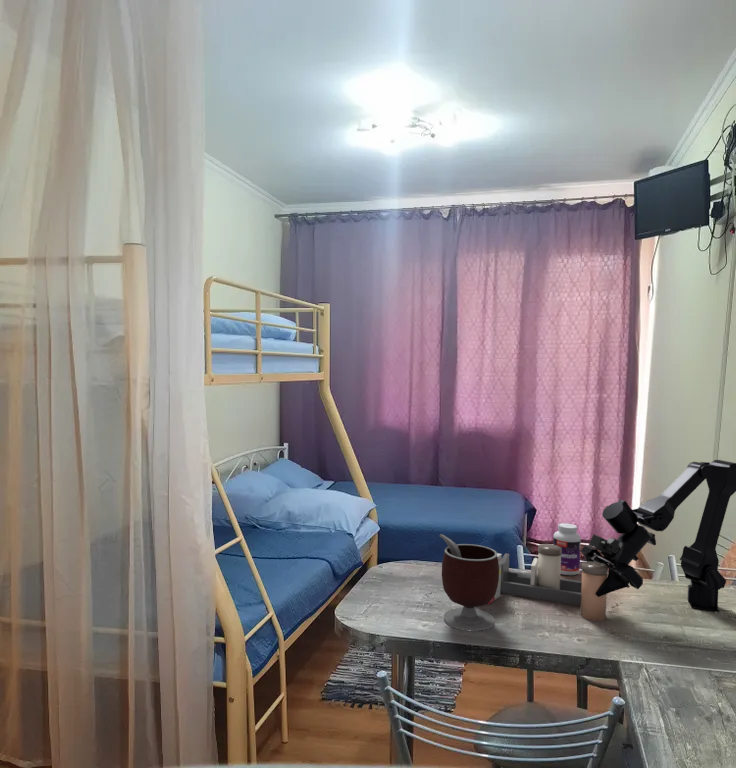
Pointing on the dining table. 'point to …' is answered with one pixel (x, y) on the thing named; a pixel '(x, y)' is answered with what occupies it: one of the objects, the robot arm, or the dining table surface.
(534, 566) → the pusher
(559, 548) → the cream jar
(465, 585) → the mate gourd
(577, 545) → the pill bottle
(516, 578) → the grey jar rack
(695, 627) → the dining table surface
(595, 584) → the terracotta jar
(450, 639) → the dining table surface
